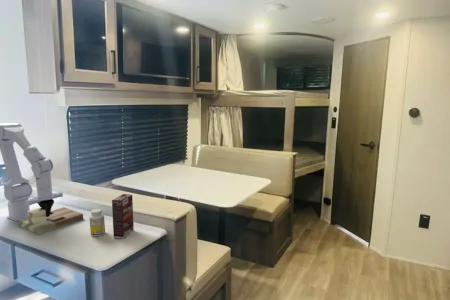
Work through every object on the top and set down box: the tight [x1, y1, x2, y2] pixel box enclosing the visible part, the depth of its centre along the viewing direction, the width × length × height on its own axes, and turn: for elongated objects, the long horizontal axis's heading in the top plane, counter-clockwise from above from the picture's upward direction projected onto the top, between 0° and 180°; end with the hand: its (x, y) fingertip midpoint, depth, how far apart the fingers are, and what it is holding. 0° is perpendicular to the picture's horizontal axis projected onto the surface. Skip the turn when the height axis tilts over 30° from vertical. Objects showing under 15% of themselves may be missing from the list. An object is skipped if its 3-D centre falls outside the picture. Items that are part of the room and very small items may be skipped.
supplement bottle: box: [89, 208, 106, 237], centre depth 128 cm, size 6×6×10 cm
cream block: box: [27, 207, 46, 225], centre depth 135 cm, size 5×5×5 cm
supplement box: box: [111, 193, 135, 240], centre depth 128 cm, size 9×5×16 cm, turn 168°
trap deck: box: [18, 207, 84, 235], centre depth 141 cm, size 16×20×2 cm
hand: (47, 216), depth 139 cm, fingers closed
